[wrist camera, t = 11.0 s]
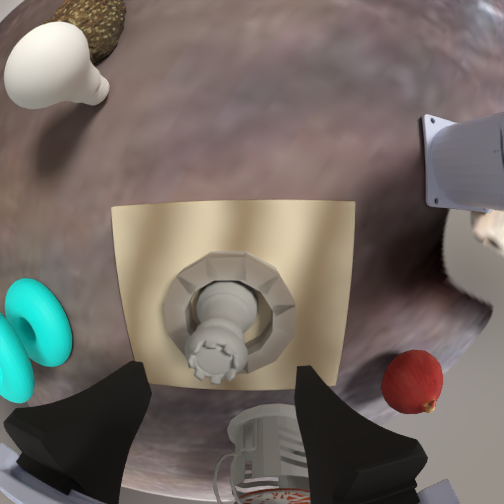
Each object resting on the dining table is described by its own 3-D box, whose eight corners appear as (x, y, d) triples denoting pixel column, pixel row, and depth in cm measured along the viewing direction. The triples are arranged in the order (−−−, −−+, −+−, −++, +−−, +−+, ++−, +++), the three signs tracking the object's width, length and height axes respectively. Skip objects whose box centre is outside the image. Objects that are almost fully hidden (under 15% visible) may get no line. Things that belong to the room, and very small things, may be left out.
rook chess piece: (202, 268, 19) (169, 316, 11) (263, 278, 19) (268, 334, 12) (196, 322, 20) (167, 388, 12) (253, 332, 20) (251, 404, 12)
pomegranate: (428, 350, 22) (469, 393, 14) (391, 389, 23) (421, 440, 15) (401, 324, 21) (446, 372, 13) (359, 370, 22) (389, 428, 14)
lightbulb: (108, 137, 18) (11, 109, 7) (65, 116, 18) (-23, 92, 7) (145, 73, 17) (74, 5, 6) (98, 59, 16) (26, 9, 6)
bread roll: (120, 65, 17) (93, 42, 12) (28, 102, 17) (-2, 94, 12) (139, -21, 14) (124, -46, 9) (52, 16, 14) (30, 2, 10)
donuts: (-50, 312, 11) (-20, 301, 11) (7, 283, 21) (54, 265, 21) (-6, 401, 13) (41, 416, 13) (39, 358, 23) (91, 357, 23)
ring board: (350, 201, 19) (365, 202, 16) (332, 379, 22) (340, 399, 20) (117, 206, 19) (97, 209, 16) (144, 376, 23) (133, 394, 20)
